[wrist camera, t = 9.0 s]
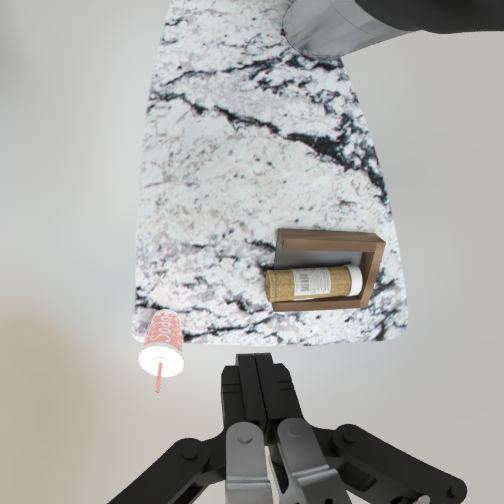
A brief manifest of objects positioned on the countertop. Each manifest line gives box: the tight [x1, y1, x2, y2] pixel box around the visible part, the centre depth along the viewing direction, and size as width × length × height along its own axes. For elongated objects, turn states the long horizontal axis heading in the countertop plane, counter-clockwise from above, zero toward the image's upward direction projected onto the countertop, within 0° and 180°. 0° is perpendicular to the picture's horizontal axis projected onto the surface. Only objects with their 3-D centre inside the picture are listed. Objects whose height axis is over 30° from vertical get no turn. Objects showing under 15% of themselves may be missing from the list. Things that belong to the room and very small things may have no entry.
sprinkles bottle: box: [265, 264, 362, 303], centre depth 41 cm, size 5×5×13 cm
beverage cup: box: [139, 309, 184, 393], centre depth 37 cm, size 6×6×14 cm
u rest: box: [271, 229, 386, 312], centre depth 41 cm, size 11×15×4 cm
